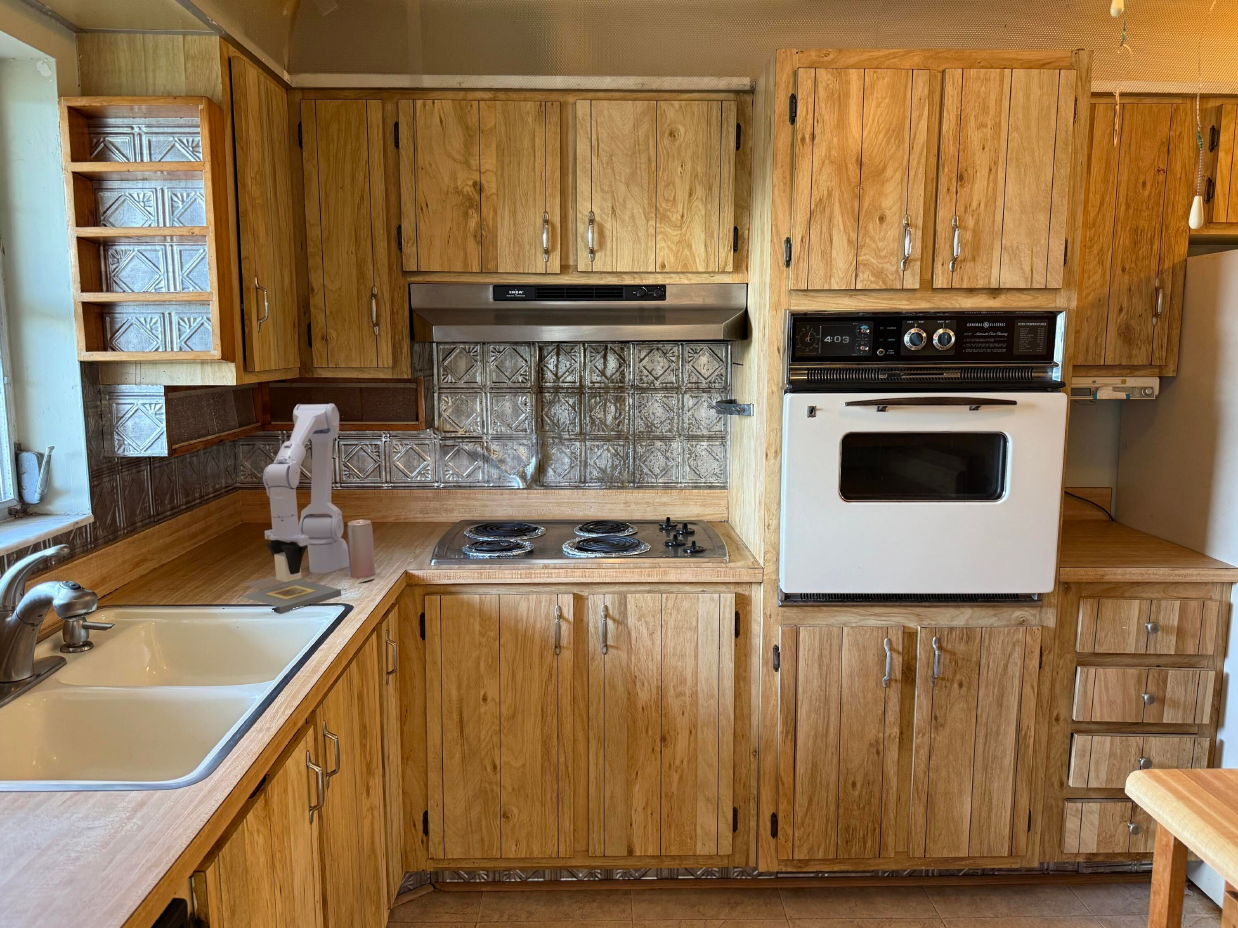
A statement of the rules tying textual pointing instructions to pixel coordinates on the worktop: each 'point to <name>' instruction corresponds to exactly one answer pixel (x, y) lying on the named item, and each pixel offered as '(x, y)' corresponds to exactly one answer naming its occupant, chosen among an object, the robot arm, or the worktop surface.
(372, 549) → the beverage can
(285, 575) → the peg
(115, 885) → the worktop surface
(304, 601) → the hole board
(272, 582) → the tab
